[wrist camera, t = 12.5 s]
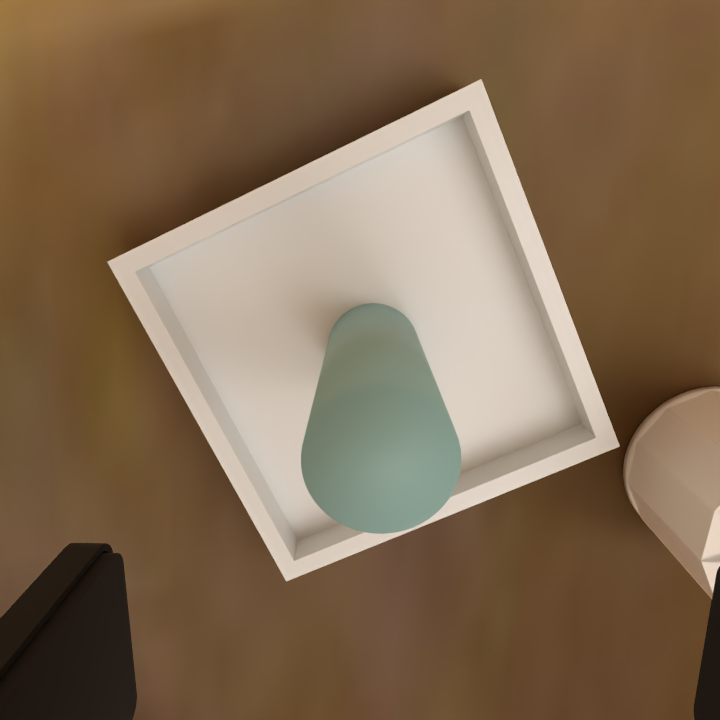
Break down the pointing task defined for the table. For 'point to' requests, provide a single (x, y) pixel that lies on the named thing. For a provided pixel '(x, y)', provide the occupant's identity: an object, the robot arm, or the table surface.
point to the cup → (680, 479)
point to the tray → (364, 286)
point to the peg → (378, 427)
